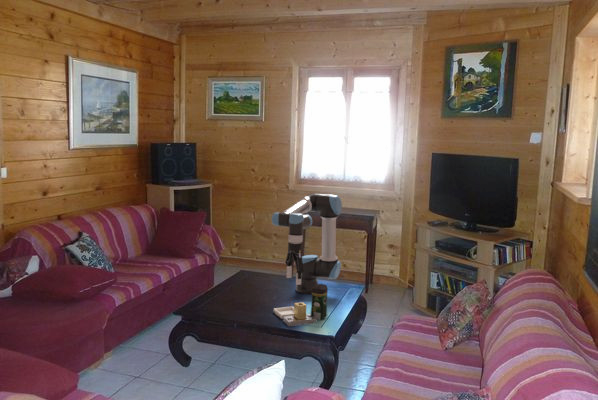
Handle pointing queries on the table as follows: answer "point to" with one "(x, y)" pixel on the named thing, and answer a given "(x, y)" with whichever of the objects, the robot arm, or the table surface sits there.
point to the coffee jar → (319, 301)
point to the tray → (284, 311)
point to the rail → (293, 322)
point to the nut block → (300, 311)
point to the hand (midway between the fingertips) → (293, 281)
